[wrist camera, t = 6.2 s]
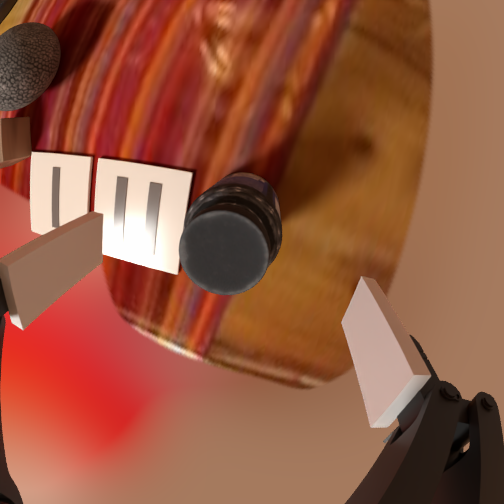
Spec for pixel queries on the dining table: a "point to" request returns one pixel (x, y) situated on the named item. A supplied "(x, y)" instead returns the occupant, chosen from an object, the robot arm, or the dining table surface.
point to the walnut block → (14, 140)
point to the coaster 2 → (142, 211)
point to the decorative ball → (27, 64)
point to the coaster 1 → (58, 189)
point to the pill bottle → (231, 234)
